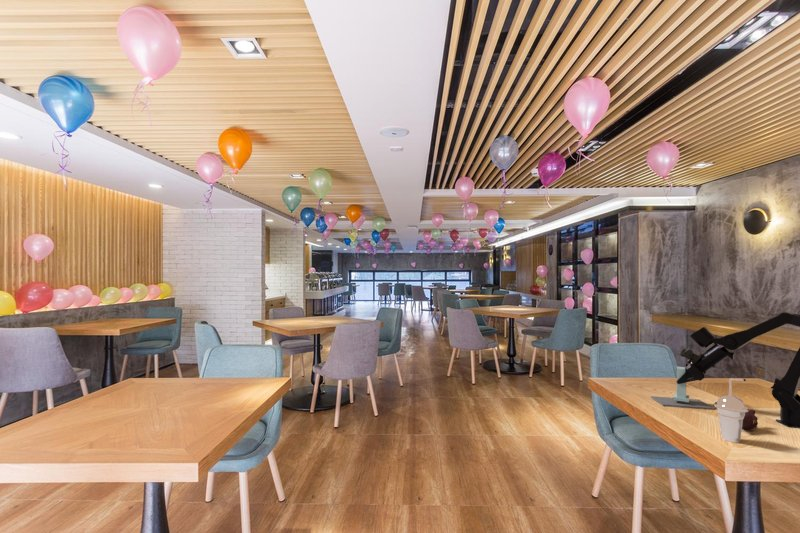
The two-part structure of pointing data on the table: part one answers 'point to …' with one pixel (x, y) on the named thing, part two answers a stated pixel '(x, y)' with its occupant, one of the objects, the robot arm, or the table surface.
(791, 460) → the table surface
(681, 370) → the number stand
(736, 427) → the cup with straw
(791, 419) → the robot arm
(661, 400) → the mat
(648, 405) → the table surface
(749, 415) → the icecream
